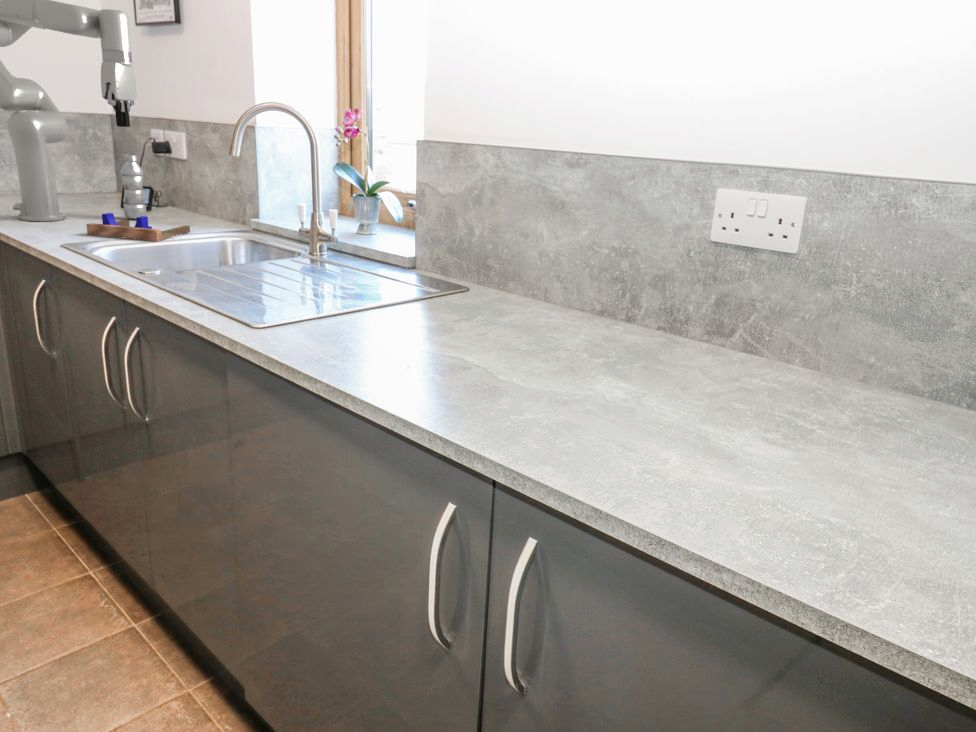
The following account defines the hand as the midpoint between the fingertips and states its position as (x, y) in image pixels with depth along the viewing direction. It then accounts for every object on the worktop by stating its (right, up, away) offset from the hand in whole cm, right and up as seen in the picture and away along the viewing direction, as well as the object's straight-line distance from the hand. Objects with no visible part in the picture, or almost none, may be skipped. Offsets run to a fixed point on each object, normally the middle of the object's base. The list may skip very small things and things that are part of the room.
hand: (123, 126), depth 214 cm
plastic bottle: (-8, -22, +24) cm, 33 cm away
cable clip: (+3, -33, -3) cm, 33 cm away
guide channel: (+5, -31, +1) cm, 31 cm away
